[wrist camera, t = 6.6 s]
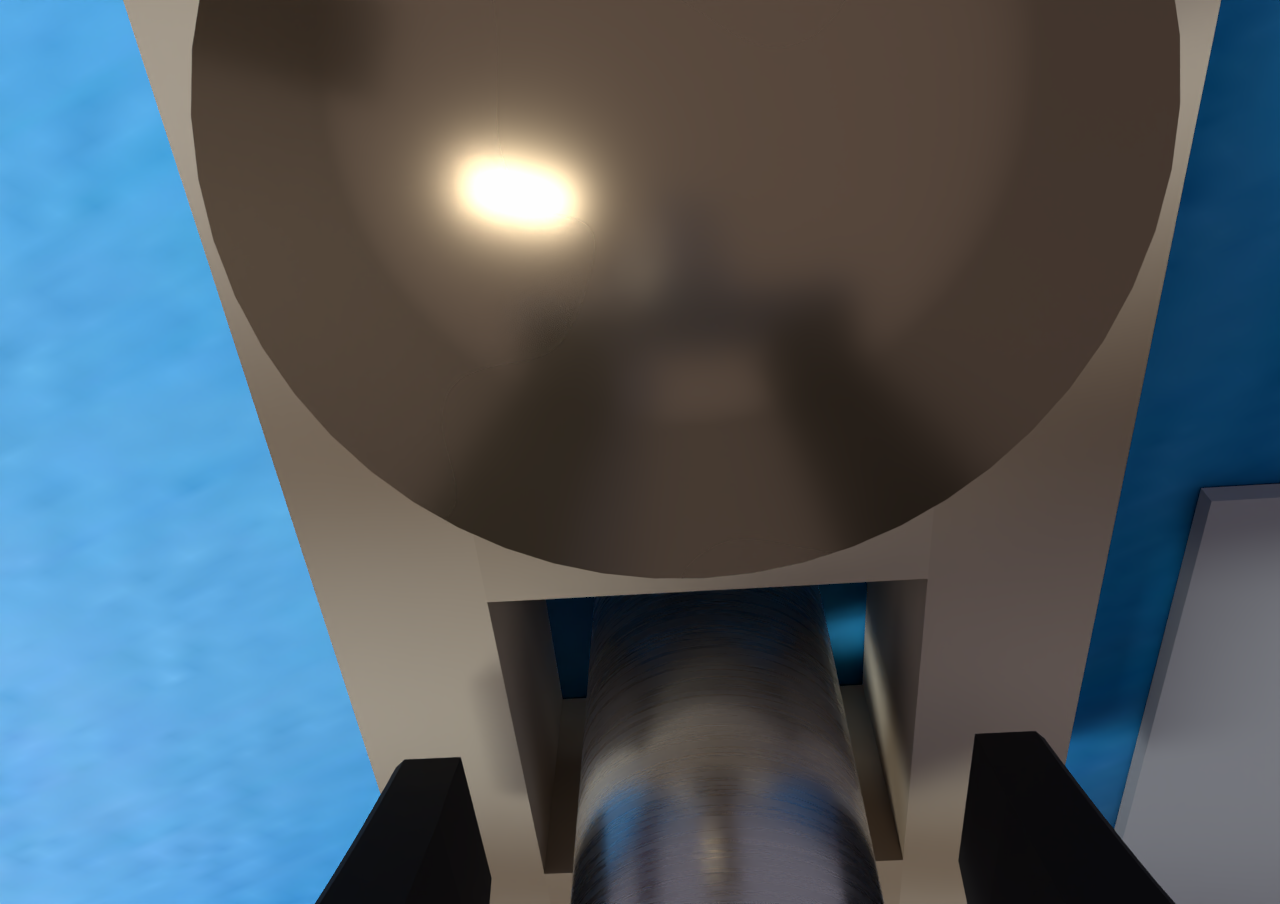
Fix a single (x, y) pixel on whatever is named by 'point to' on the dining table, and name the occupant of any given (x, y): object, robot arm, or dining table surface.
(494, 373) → the bronze peg
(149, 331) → the dining table surface
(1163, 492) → the dining table surface
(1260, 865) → the mat
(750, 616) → the grey peg
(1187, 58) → the hole block
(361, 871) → the robot arm
